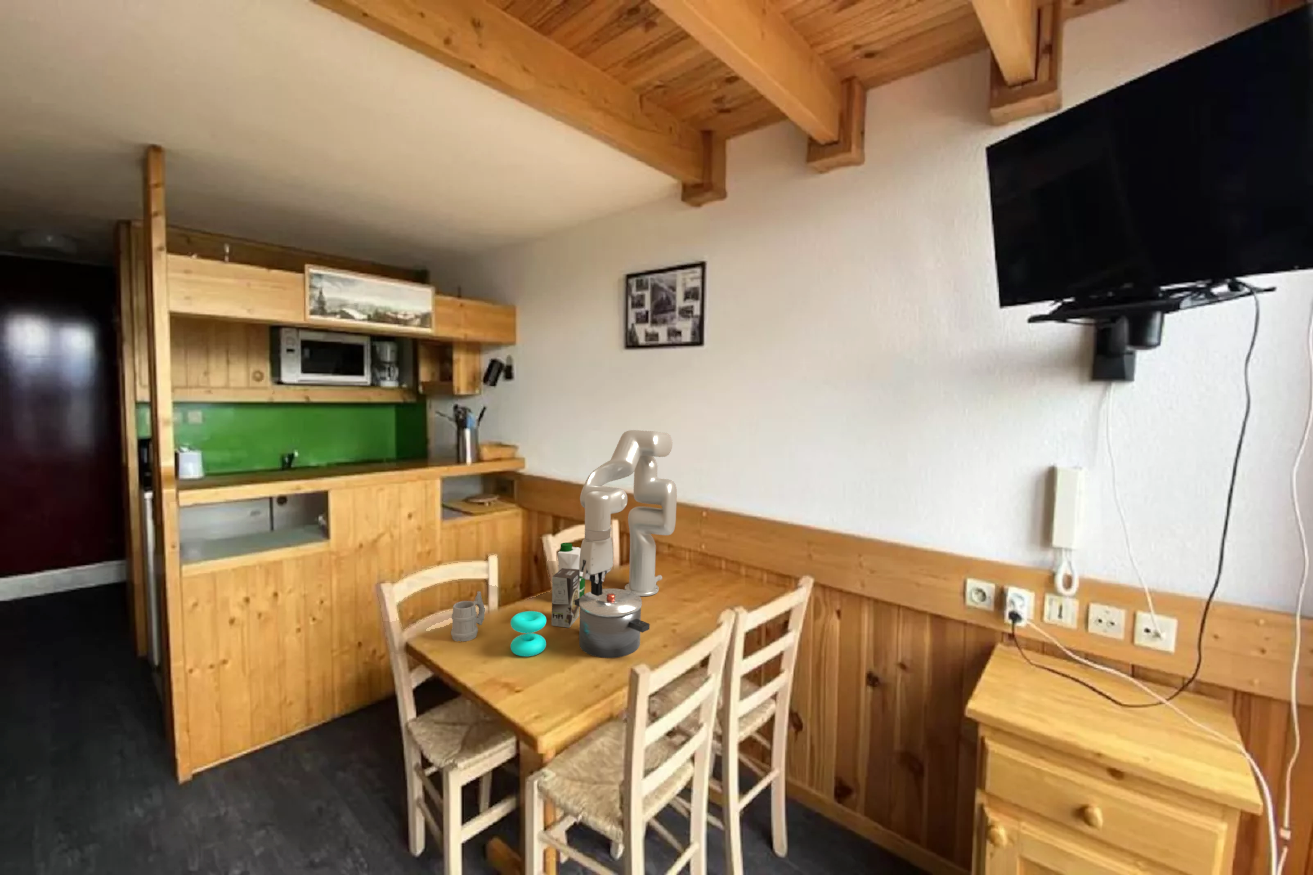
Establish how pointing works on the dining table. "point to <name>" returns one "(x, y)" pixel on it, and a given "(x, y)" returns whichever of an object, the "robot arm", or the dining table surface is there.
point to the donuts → (528, 633)
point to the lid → (611, 603)
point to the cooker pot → (610, 634)
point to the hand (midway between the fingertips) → (596, 594)
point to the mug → (467, 619)
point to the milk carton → (571, 562)
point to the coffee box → (565, 597)
